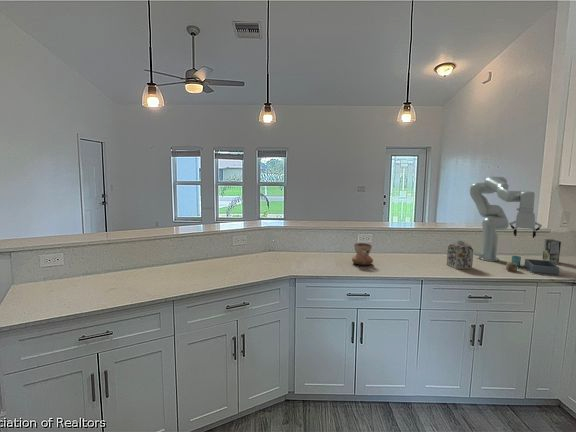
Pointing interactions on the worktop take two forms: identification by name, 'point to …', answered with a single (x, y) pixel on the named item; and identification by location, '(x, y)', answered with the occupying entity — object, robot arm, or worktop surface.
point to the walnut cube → (511, 267)
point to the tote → (541, 267)
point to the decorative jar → (460, 255)
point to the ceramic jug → (362, 254)
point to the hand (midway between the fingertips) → (524, 236)
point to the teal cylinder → (516, 260)
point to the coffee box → (551, 250)
